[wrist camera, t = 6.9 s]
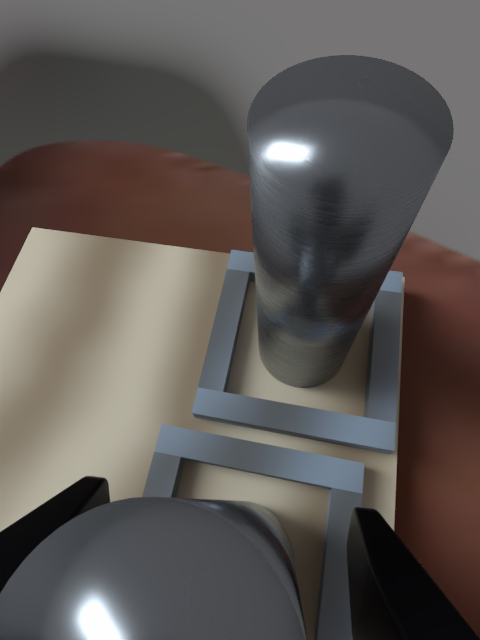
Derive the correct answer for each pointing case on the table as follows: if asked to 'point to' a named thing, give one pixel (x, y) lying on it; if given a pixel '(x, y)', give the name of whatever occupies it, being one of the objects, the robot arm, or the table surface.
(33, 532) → the robot arm
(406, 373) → the table surface
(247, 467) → the board
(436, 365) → the table surface
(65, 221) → the table surface
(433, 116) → the fixed pin
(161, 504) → the pin
